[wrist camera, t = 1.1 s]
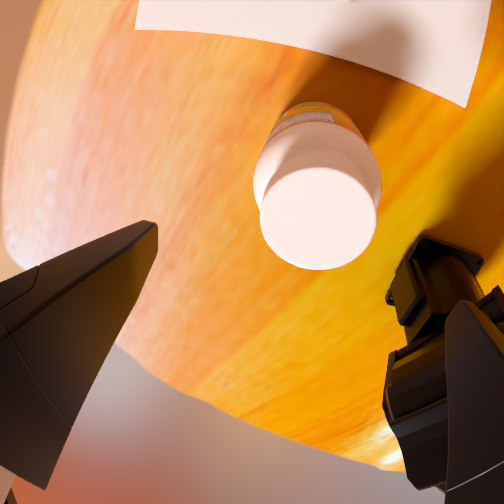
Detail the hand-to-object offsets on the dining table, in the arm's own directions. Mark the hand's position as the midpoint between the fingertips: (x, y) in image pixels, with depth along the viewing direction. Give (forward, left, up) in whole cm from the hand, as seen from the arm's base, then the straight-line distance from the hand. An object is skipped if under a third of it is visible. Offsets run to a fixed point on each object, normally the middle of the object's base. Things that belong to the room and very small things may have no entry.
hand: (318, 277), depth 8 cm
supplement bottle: (0, 0, -13) cm, 13 cm away
